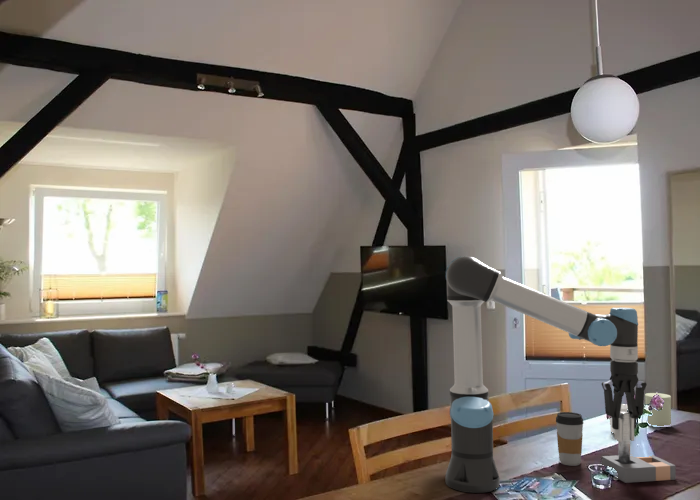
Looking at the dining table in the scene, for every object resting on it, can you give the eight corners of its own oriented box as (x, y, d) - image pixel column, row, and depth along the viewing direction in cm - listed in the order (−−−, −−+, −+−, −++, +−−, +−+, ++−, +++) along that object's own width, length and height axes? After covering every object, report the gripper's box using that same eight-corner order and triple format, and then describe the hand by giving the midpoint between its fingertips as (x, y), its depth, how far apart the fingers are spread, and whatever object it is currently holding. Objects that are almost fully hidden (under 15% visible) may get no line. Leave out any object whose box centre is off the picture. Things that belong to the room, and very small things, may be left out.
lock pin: (622, 462, 188) (622, 414, 189) (616, 459, 192) (616, 411, 192) (632, 461, 189) (632, 413, 189) (626, 458, 192) (625, 411, 192)
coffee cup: (586, 467, 197) (585, 418, 198) (557, 466, 199) (557, 417, 199) (581, 459, 205) (581, 412, 206) (554, 458, 207) (554, 411, 207)
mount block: (625, 482, 184) (625, 468, 184) (601, 469, 195) (601, 456, 195) (675, 479, 186) (675, 465, 186) (649, 466, 198) (649, 453, 198)
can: (649, 427, 245) (648, 396, 245) (642, 421, 254) (641, 391, 254) (675, 428, 243) (674, 396, 243) (667, 422, 252) (666, 391, 252)
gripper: (606, 362, 186) (606, 444, 185) (656, 361, 189) (657, 442, 188) (591, 358, 193) (592, 437, 193) (641, 357, 196) (641, 435, 195)
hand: (624, 439), depth 190 cm, fingers closed on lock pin, 3 cm apart
